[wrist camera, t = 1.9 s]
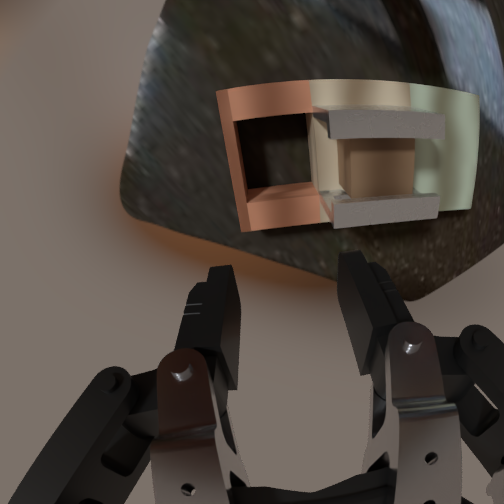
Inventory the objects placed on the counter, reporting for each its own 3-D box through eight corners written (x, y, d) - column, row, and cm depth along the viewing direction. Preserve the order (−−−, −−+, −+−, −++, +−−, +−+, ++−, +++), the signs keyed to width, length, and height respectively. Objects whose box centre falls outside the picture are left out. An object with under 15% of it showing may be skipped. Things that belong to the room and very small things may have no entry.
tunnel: (410, 106, 21) (445, 114, 16) (409, 193, 26) (437, 218, 21) (312, 105, 22) (328, 110, 17) (319, 200, 26) (334, 228, 22)
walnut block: (394, 121, 22) (414, 128, 18) (393, 179, 25) (412, 194, 22) (335, 121, 22) (349, 127, 19) (338, 183, 25) (351, 199, 22)
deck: (458, 91, 22) (479, 95, 19) (453, 195, 29) (470, 208, 26) (221, 91, 24) (215, 91, 21) (243, 215, 32) (241, 232, 28)
